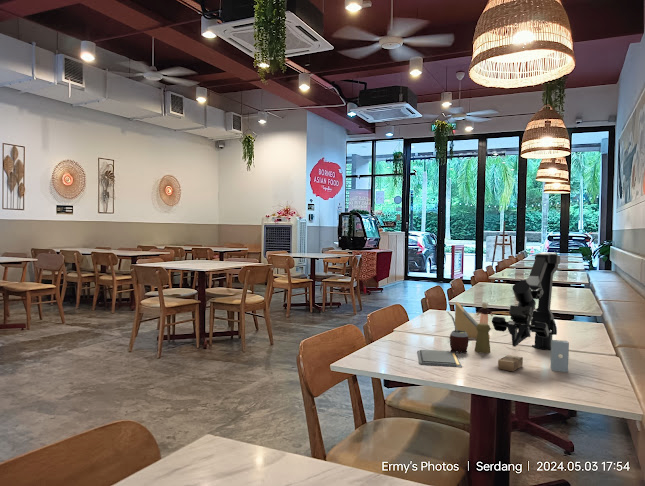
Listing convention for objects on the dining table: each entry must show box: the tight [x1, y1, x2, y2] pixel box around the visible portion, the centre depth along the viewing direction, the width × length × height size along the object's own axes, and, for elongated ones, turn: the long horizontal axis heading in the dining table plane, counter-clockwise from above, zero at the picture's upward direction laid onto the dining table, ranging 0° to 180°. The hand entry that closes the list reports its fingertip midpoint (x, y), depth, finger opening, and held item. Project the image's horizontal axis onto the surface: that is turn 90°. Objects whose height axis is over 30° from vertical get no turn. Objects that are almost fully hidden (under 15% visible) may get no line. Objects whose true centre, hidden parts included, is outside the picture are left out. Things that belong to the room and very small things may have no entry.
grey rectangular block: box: [550, 339, 570, 373], centre depth 162 cm, size 4×5×10 cm
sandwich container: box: [454, 301, 491, 340], centre depth 215 cm, size 9×15×15 cm, turn 71°
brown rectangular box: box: [497, 354, 524, 372], centre depth 164 cm, size 4×5×10 cm
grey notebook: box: [417, 349, 463, 369], centre depth 174 cm, size 20×2×15 cm
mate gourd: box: [446, 311, 470, 355], centre depth 185 cm, size 8×8×15 cm
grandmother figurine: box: [476, 300, 494, 325], centre depth 238 cm, size 8×4×13 cm, turn 80°
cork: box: [474, 322, 491, 354], centre depth 187 cm, size 6×6×11 cm
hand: (513, 345), depth 166 cm, fingers closed
